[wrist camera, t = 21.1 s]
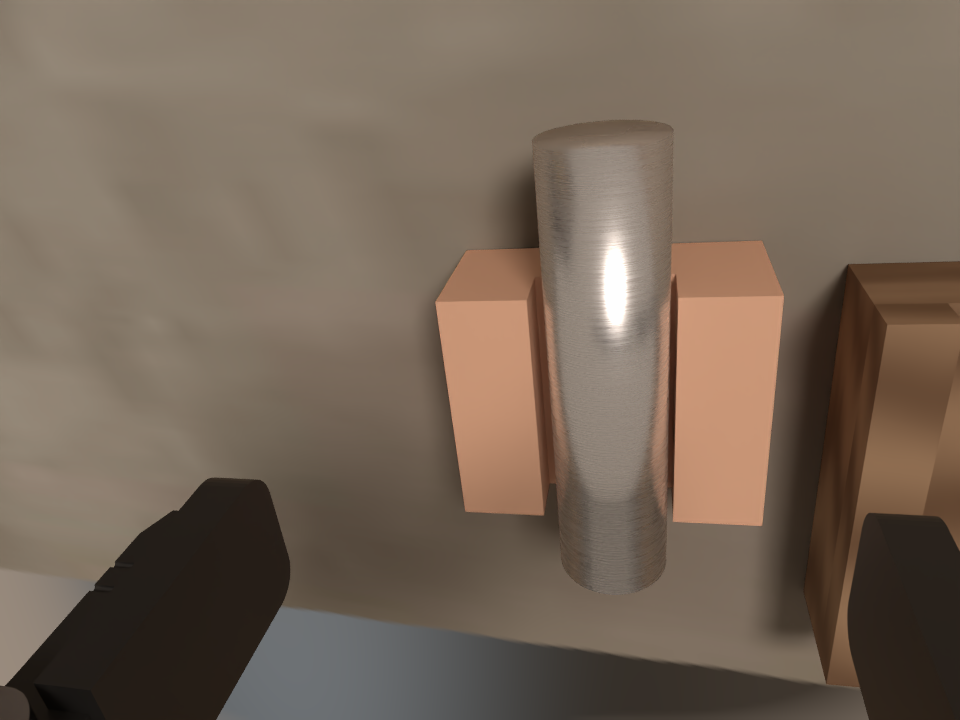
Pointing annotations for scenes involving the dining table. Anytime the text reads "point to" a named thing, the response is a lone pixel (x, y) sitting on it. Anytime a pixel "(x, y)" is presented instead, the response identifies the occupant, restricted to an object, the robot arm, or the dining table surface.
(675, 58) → the dining table surface
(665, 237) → the steel axle
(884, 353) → the wooden channel bracket
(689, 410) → the terracotta cradle
